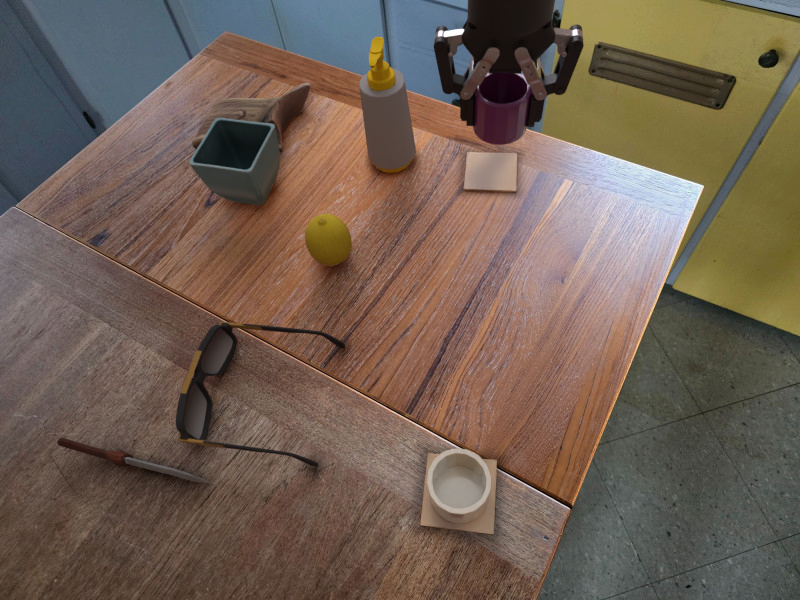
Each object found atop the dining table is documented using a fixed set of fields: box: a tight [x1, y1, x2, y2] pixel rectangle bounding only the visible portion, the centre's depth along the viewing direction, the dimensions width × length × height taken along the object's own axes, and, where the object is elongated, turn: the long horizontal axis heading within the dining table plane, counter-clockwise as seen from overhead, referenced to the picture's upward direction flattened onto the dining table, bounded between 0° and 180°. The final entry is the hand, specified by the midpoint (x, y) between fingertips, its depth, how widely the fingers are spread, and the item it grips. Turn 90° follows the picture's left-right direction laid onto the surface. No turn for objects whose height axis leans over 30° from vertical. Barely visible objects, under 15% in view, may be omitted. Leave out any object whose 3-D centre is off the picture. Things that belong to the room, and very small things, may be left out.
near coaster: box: [419, 452, 498, 536], centre depth 54 cm, size 7×7×1 cm
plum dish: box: [472, 72, 532, 146], centre depth 58 cm, size 6×6×5 cm
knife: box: [56, 437, 216, 485], centre depth 58 cm, size 18×2×3 cm, turn 76°
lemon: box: [304, 213, 353, 267], centre depth 67 cm, size 6×6×8 cm
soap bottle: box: [358, 36, 417, 174], centre depth 71 cm, size 7×7×18 cm
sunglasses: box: [175, 321, 346, 468], centre depth 60 cm, size 14×15×5 cm
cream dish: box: [427, 447, 492, 524], centre depth 52 cm, size 6×6×5 cm
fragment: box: [191, 82, 312, 154], centre depth 84 cm, size 13×16×5 cm
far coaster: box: [463, 151, 518, 193], centre depth 76 cm, size 7×7×1 cm
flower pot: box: [188, 118, 281, 206], centre depth 75 cm, size 9×9×9 cm
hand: (500, 121), depth 60 cm, fingers closed on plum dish, 6 cm apart
